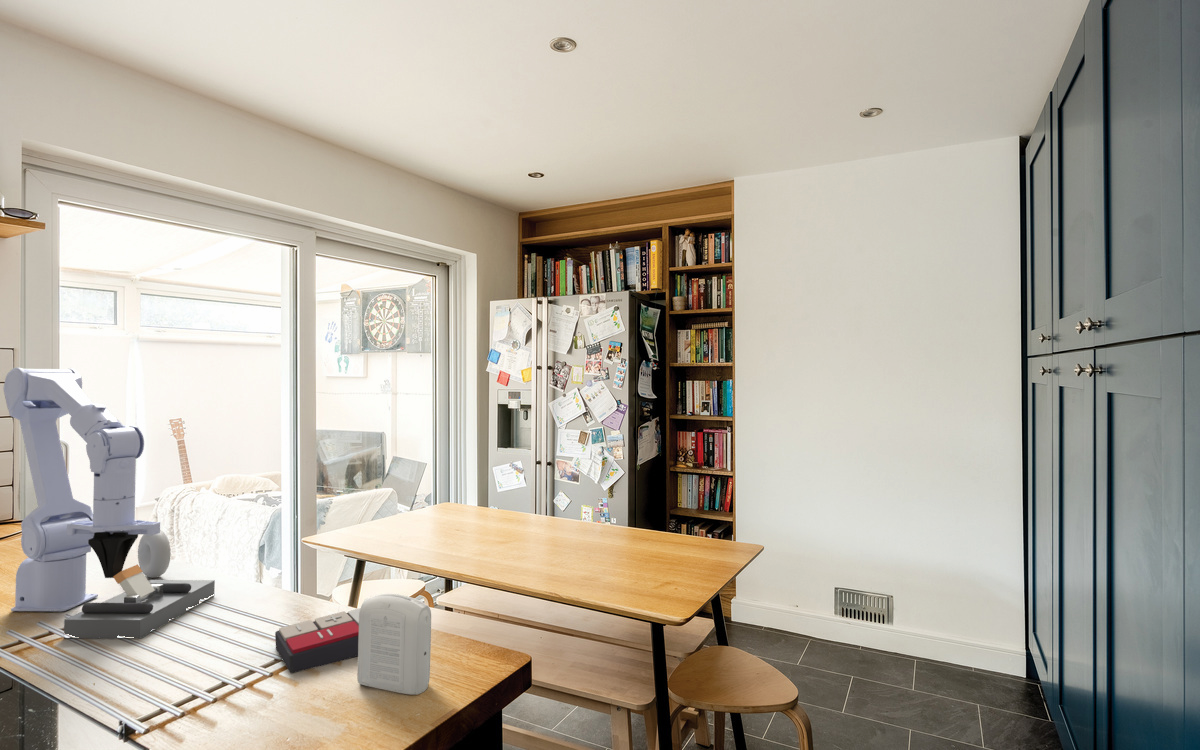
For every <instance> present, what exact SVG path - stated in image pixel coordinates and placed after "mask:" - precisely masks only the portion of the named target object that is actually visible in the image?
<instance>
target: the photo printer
mask: <svg viewBox="0 0 1200 750" xmlns="http://www.w3.org/2000/svg"><path fill="white" fill-rule="evenodd" d="M431 643H432V610H431V607H430V606H429V605H428V604H426V603H425V602H422V601H421V600H419V599H417V598H414V597H412V596H408V595H404V594H399V593H380V594H375V595H371V596H370V597H368V598H365V599H364V600H363V602H362V603H361V605H360V612H359V638H358V656H357V675H356V676H357V683H358V684H359V685H362V686H366V687H371V688H376V689H381V690H385V691H389V692H395V693H399V694H404V695H405V694H406V695H415V696H416V695H417V696H418V695H420V694H422V693H424V692H425V691H426V690H427V689H428V687H429V683H430V678H431V677H430V676H431V651H432V650H431V649H432V647H431V646H432V644H431Z"/></svg>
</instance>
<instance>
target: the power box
mask: <svg viewBox="0 0 1200 750" xmlns="http://www.w3.org/2000/svg"><path fill="white" fill-rule="evenodd" d="M148 581H149V582H150V584H151V585H152V587H153V588H154V589H155V595H154V596H152V597H150V598H148V599H146V600H144V601H142V602H140V595H127V594H126V592H125V591H123V592H122V593H119V594H117V595H115V596H113V597H111V598H109V599H106V600H104V601H102V602H84V604H83V605H82V607H81V611H80V612H78V613H75V614H74V615H71V616H68V617H67V618H65V619H64V621H63V634H64V633H65V634H69V635H72V636H75V637H79V638H78V639H86V638H87V639H95V640H96V639H97V640H98V639H99V640H100V639H104V640H105V639H109V640H110V639H112V640H114V639H115V638H117V636H118V635H119V636H125V637H134V638H140V639H142V638H143V637H146V636H148V635H149V634H151V633H150V631H151V630H152V629H156V630H157V628H158V629H160V628H162V627H163V626H165V625H167V624H169V622H168V621H169V619H172V618H175V619H177V618H178V616H179V617H180V616H182V615H184V614H185V612H186V608H188V607H192V606H195V605H197V604H199V600H200V599H204V598H208V597H209V596H211V595H213V594H214V595H215V583H216V582H215V579H209V580H208V579H150V580H148ZM199 605H200V604H199ZM186 613H187V612H186ZM176 617H177V618H176ZM164 624H165V625H164ZM159 627H160V628H159Z"/></svg>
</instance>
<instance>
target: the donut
mask: <svg viewBox="0 0 1200 750" xmlns="http://www.w3.org/2000/svg"><path fill="white" fill-rule="evenodd" d="M171 550H172V549H171V544H170V540H169V538H168V536H167V534H166V533H165V532H164V531H162V530H161V529H160V533H158V534H155V535H152V536H148V535H147V534H142V535H141V537H140V540H139V543H138V548H137V560H138V566H139V567H140V568H141V570H142V573H143V574H144V576H145V577H146V578H150V579H152V578H153V579H154V578H155V579H156V578H159V577H161V576H163V575H164V574H165V573H166V571H167V570H168V569H169V566H170V562H171V556H172V555H171V552H172V551H171Z"/></svg>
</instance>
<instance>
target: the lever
mask: <svg viewBox="0 0 1200 750" xmlns="http://www.w3.org/2000/svg"><path fill="white" fill-rule="evenodd" d="M112 579H114V580H115V582H116V583H117V584H118V585H119V586H120V587H121V589H122V590H123V592H126V594H127V595H140V602H142V601H144V600H146V599H148V598H150V597H152V596H154V595H155V589H154V588H153V587H152V585H151V584H150V582H149V581H150V580H148V577H147V576H146V575H144V574H143V572H142V570H141V568H140V566H139V563H138V564H136V565H133V566H130V567H128V568H125V569H122V571H121V572H119V573H118V574H116V575H115V576H113V578H112Z"/></svg>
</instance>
